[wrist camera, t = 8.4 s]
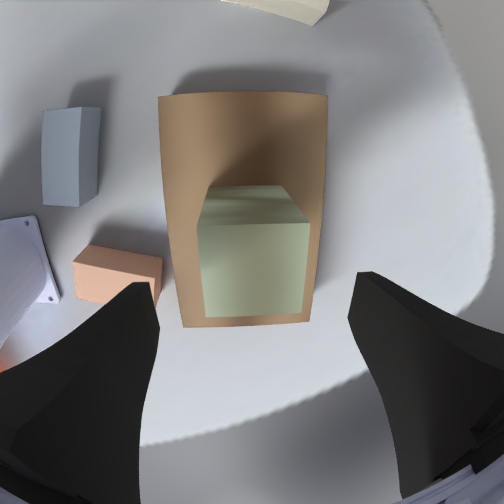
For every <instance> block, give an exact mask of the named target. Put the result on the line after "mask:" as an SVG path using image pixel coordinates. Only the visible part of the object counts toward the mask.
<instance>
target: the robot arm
mask: <svg viewBox="0 0 504 504" xmlns="http://www.w3.org/2000/svg"><path fill="white" fill-rule="evenodd" d="M27 221H28V222H29V224H28V222H27ZM51 297H52V298H53V299H52V298H51ZM60 300H61V297H60V294H59V291H58V289H57V286H56V283H55V280H54V277H53V274H52V271H51V268H50V265H49V262H48V259H47V255H46V252H45V248H44V245H43V241H42V237H41V233H40V229H39V225H38V221H37V218H36V217H35V216H33V215H30V216H24V217H18V218H11V219H5V220H0V348H1V347H2V345H3V344H4V342H5V341H6V339H7V338H8V336H9V335H10V334H11V332H12V331H13V329H14V328H15V327H16V325H17V324H18V322H19V321H20V320H21V318H22V317H23V316H24V315H25V313H26V312H27V311H28V309H29V308H30V307H31V305H32V304H33V303H34V302H40V303H59V302H60ZM348 321H349V324H350V327H351V331H352V333H353V336H354V339H355V342H356V344H357V346H358V348H359V350H360V352H361V354H362V356H363V358H364V360H365V362H366V364H367V366H368V368H369V370H370V372H371V374H372V376H373V379H374V381H375V383H376V385H377V387H378V389H379V392H380V394H381V397H382V400H383V403H384V407H385V410H386V413H387V416H388V420H389V424H390V428H391V432H392V436H393V441H394V446H395V451H396V457H397V464H398V472H399V482H400V493H401V496H402V499H403V500H401V501H398V502H395V503H393V504H504V334H502V333H499V332H495V331H492V330H489V329H486V328H483V327H480V326H477V325H475V324H472V323H470V322H467V321H465V320H462V319H460V318H458V317H456V316H454V315H451V314H449V313H447V312H445V311H443V310H441V309H440V308H438V307H436V306H434V305H432V304H430V303H428V302H427V301H425V300H423V299H421V298H419V297H418V296H416V295H414V294H413V293H411V292H409V291H407V290H406V289H404V288H402V287H401V286H399V285H397V284H395V283H394V282H392V281H390V280H388V279H387V278H385V277H383V276H381V275H379V274H377V273H375V272H372V271H371V272H357V276H356V281H355V286H354V291H353V296H352V300H351V305H350V309H349V313H348ZM159 332H160V326H159V322H158V318H157V314H156V310H155V306H154V301H153V297H152V292H151V288H150V283H149V282H132V283H131V284H129V285H128V286H127V287H125V288H124V289H123V290H122V291H120V292H119V293H118V294H117V295H116V296H115V297H113V298H112V299H111V300H110V301H109V302H108V303H106V304H105V305H104V306H103V307H102V308H101V309H99V310H98V311H97V312H96V313H95V314H93V315H92V316H91V317H90V318H88V319H87V320H86V321H85V322H83V323H82V324H81V325H80V326H78V327H77V328H76V329H75V330H73V331H72V332H71V333H69V334H68V335H67V336H65V337H64V338H62V339H61V340H59V341H58V342H56V343H55V344H53V345H52V346H50V347H49V348H47V349H46V350H44V351H42V352H40V353H39V354H37V355H35V356H33V357H32V358H30V359H28V360H26V361H25V362H23V363H21V364H19V365H17V366H14V367H12V368H10V369H8V370H6V371H3V372H1V373H0V504H141V503H140V490H139V444H140V430H141V419H142V412H143V406H144V401H145V397H146V393H147V389H148V385H149V381H150V377H151V373H152V369H153V365H154V362H155V358H156V354H157V348H158V340H159ZM0 364H1V362H0Z"/></svg>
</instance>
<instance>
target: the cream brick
mask: <svg viewBox="0 0 504 504" xmlns="http://www.w3.org/2000/svg"><path fill="white" fill-rule="evenodd" d="M221 1H224V2H229V3H234V4H239V5H243V6H247V7H252V8H255V9H259V10H263V11H267V12H270V13H274V14H277V15H280V16H283V17H286V18H290V19H293V20H295V21H298V22H301V23H304V24H307V25H309V26H313V25H314V24H315V23H316V22H317V21H318V20H319V19H320V18H321V17H322V16H323V15H324V14H325V13H326V11H327V8H328V5H329V2H330V0H221Z"/></svg>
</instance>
